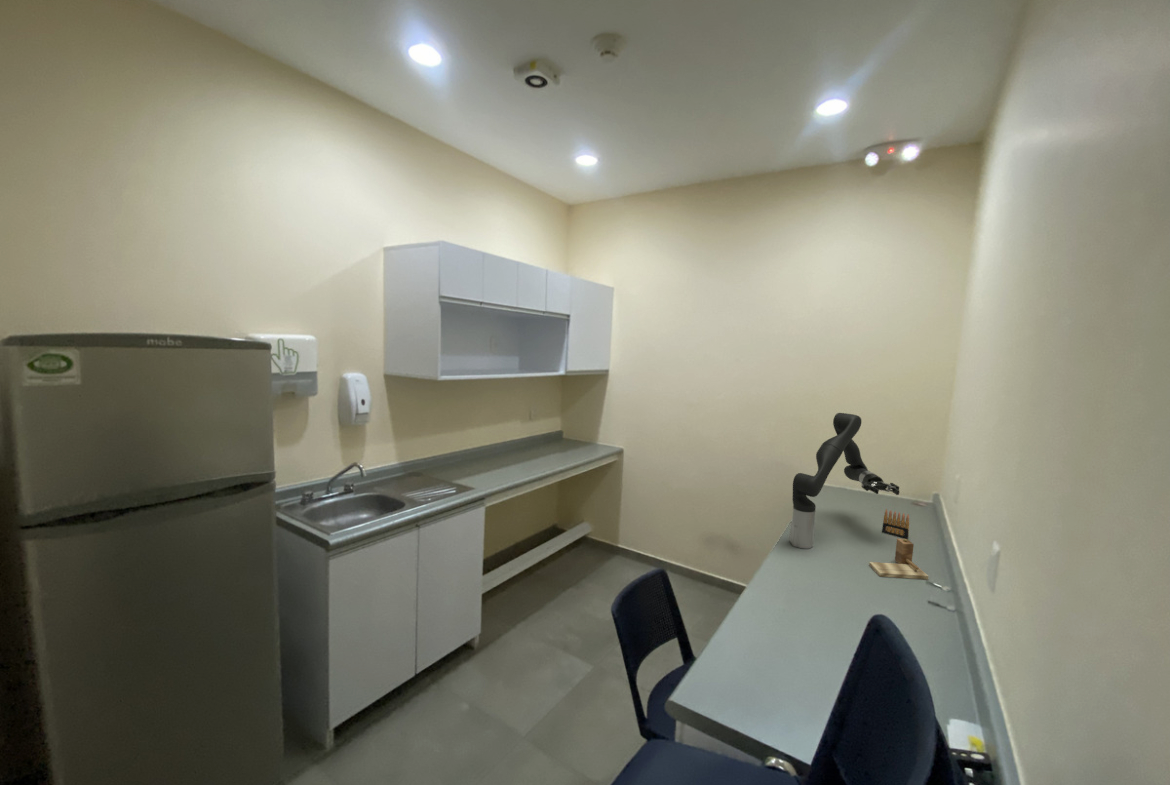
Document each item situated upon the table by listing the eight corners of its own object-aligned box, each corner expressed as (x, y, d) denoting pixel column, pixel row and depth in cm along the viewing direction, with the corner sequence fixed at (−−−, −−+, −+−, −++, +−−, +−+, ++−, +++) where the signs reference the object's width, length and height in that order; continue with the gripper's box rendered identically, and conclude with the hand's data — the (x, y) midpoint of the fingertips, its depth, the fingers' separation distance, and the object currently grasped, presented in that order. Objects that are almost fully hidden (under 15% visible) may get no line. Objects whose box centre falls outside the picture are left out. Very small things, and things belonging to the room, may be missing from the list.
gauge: (911, 575, 189) (913, 550, 188) (894, 560, 201) (897, 536, 200) (921, 576, 189) (924, 550, 187) (904, 560, 201) (907, 537, 199)
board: (879, 576, 188) (880, 572, 188) (869, 565, 197) (869, 561, 197) (928, 579, 186) (928, 575, 186) (915, 568, 195) (915, 564, 195)
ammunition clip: (908, 538, 223) (910, 514, 221) (907, 539, 221) (910, 515, 220) (882, 531, 230) (884, 508, 228) (881, 532, 229) (883, 509, 227)
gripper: (855, 472, 226) (871, 483, 210) (887, 473, 224) (905, 485, 209) (854, 487, 227) (870, 499, 211) (885, 488, 225) (904, 501, 210)
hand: (887, 492), depth 210 cm, fingers open, 8 cm apart
